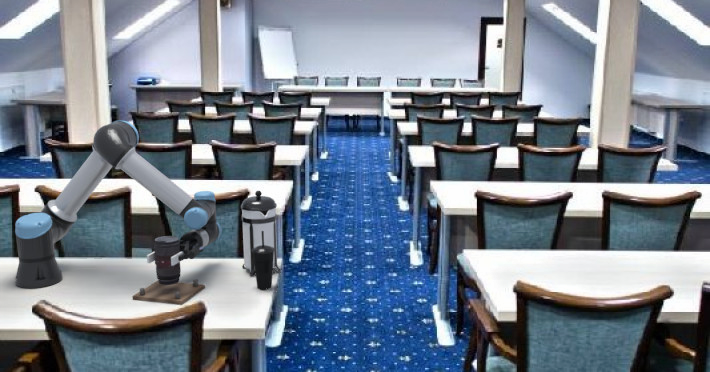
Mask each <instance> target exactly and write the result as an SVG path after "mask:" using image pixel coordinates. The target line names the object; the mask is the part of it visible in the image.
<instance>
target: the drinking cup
mask: <svg viewBox="0 0 710 372" xmlns="http://www.w3.org/2000/svg"><path fill="white" fill-rule="evenodd" d="M274 250H275V249H274V248H273V247H270V246H267V245H264V231H262V245H260V246H257V247H255V248H253V249H252V252H253V258H254V266H255V278H256V279H255V281H256V287H257V289H258V290H260V291H266V290H267V291H268V290H269V289H271V288H272V284H273V283H272V281H273V272H274V270H273V255H274Z"/></svg>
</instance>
